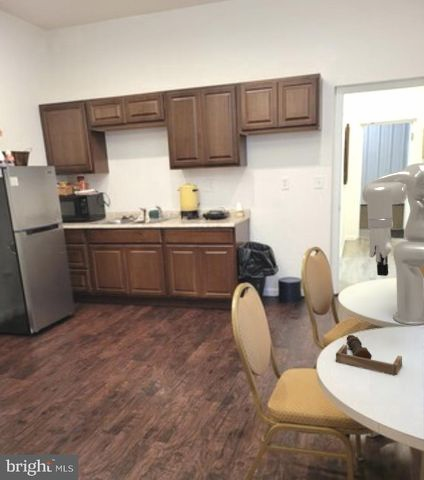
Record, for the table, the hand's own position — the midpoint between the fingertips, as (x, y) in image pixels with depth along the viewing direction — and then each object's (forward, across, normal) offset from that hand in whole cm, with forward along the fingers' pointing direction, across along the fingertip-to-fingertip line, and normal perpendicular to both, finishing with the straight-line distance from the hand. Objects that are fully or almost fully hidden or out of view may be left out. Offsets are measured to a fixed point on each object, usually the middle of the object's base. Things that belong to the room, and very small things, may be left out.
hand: (382, 274), depth 130 cm
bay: (+24, +18, -1) cm, 30 cm away
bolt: (+25, +13, -6) cm, 29 cm away
